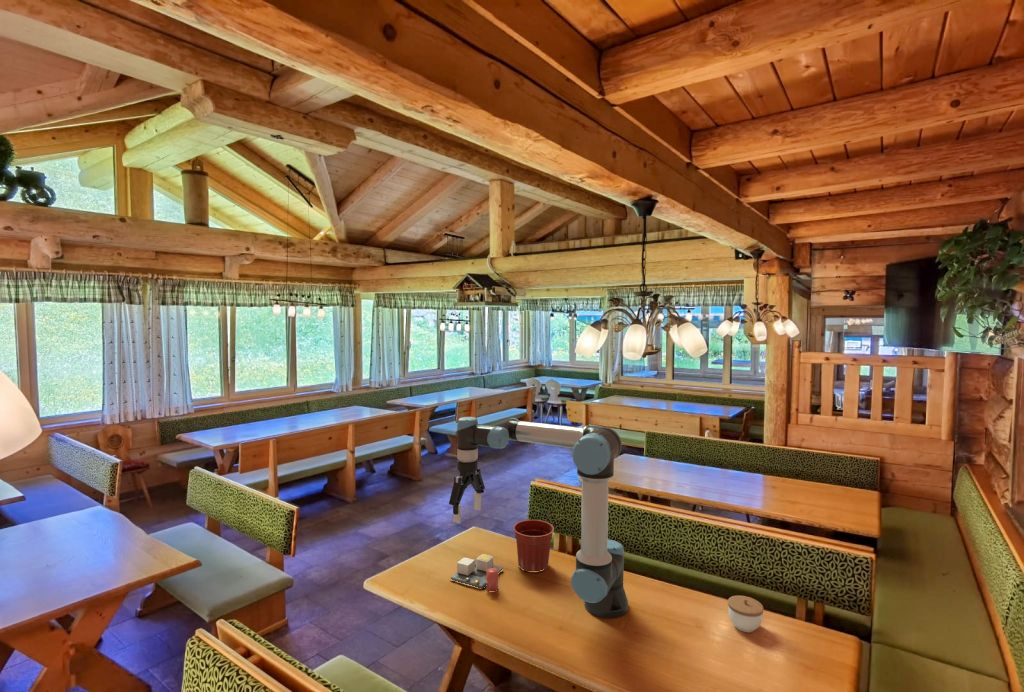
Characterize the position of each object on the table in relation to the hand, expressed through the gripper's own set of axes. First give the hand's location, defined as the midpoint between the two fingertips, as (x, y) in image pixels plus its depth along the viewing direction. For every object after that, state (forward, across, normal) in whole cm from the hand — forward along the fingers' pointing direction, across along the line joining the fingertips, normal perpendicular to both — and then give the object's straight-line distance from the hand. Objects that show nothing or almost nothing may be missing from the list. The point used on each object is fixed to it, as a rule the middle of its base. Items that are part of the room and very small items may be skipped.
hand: (467, 515), depth 192 cm
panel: (+28, -10, -2) cm, 30 cm away
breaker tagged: (+26, -14, -1) cm, 30 cm away
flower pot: (+28, -27, +14) cm, 42 cm away
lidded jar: (+28, -25, +93) cm, 100 cm away
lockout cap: (+28, -4, +8) cm, 29 cm away
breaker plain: (+26, -8, -6) cm, 28 cm away
